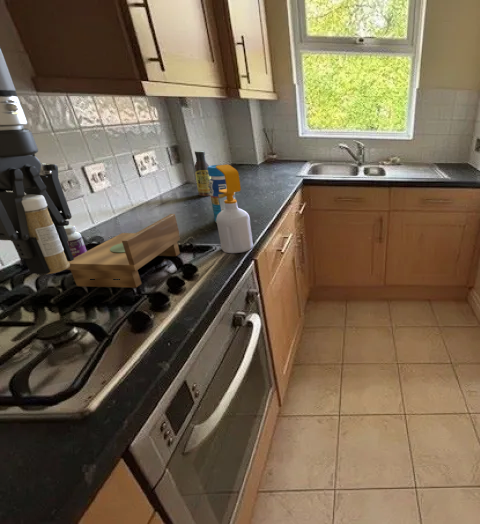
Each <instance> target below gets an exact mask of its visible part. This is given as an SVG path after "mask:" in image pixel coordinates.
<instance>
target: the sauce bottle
mask: <svg viewBox="0 0 480 524" xmlns="http://www.w3.org/2000/svg"><path fill="white" fill-rule="evenodd" d="M194 155H195V164H194V174H195V182H196V187H197V192H198V196H200V197H210V194H209V192H210V189H209V187H208V185H209V181H210V179H211V177H210V176H209V174H208V169H207V168H208V166H210V165H209V164H208V162H207V161H206V153H205V150H195V151H194Z"/></svg>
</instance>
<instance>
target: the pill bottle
mask: <svg viewBox="0 0 480 524" xmlns="http://www.w3.org/2000/svg"><path fill="white" fill-rule="evenodd" d="M64 228H65V231H66V233H67V236H68V241H67V242H68V245H69V248H70V250H71V253H72V255H73V258H75V257H77V256H79V255H81V254H83V253H85V252H87V251H88V250H87V247H86V245H85V241H84V239H83V237H82V234H81V233H80V232H78V231H77V228H76V226H75V225H74V224H69V225H68V226H64Z"/></svg>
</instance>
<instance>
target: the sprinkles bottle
mask: <svg viewBox="0 0 480 524" xmlns="http://www.w3.org/2000/svg"><path fill="white" fill-rule="evenodd" d="M22 199H23V200H22V204H23V207H24V210H25V215H26V220H27V225H28V231H29V236H30V237H36V239H37V242H38V244H39V246H40V249H41V251H42V253H43V256H44V258H45V260H46V263H47V265H48V267H49V270H50V273H48V274H47V275H51V274H56V273H60V272H63V271H65V270H66V269H67V268H69V266H70V263H69V262H68V261H67V259H66V256H65V253H64V249H63V246H62V244H61V241H60V238H59V236H58V233H57V231H56V228H55V225H54V223H53V221H52V219H51V217H50V214H49V211H48V207H47V203H46V200H45V198H44V196H43V195H34V194H26V193H25V196H24V197H23V198H22Z"/></svg>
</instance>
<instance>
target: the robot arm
mask: <svg viewBox="0 0 480 524" xmlns="http://www.w3.org/2000/svg"><path fill="white" fill-rule="evenodd" d="M27 124H28V120H27V117H26V115H25V111H24V109H23V107H22V105H21V101H20V99H19V97H18V94H17V91H16V87H15V85H14V82H13V79H12V76H11V73H10V70H9V67H8V65H7V62H6V59H5V57H4V54H3V51H2V48H1V47H0V241H11V243H12V245H13V246H14V248H15V251H16V252H17V255H18V257H19V258H21V259H23V260H24V262H25V264H26V267H27V268H28V271H29V273H30V274H33V275H34V274H36V275H49V274H48V273H50V270H49V267H48V265H47V263H46V260H45V258H44V256H43V253H42V251H41V249H40V246H39V244H38V242H37V239H36V237H30V236H29V231H28V225H27V220H26V215H25V210H24V207H23V204H22V200H23V199H22V198H23V197H24V196H25V194H34V195H43V196H44V198H45V200H46V203H47V207H48V211H49V214H50V217H51V219H52V221H53V223H54V225H55V228H56V231H57V233H58V236H59V238H60V241H61V244H62V246H63V249H64V253H65V256H66V259H67V261H72V260H74V258H73V255H72V253H71V250H70V248H69V245H68V242H67V241H68V236H67V233H66V231H65V228H64V226H68V225H70V221H69V220H70V219H72V217H73V216H72V213H71V209H70V208H69V204H68V201H67V199H66V195H65V193H64V190H63V188H62V185H61V181H60V179H59V167H58V165H57V164H56V163H43V162H41V160H40V159H39V158H38V157H37V155H36V154H37V153H38V152H39V148H38V145H37V142H36V140H35V138H34V135H33V132H32V130H30V129H29V128H25V127H24V126H27Z"/></svg>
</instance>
